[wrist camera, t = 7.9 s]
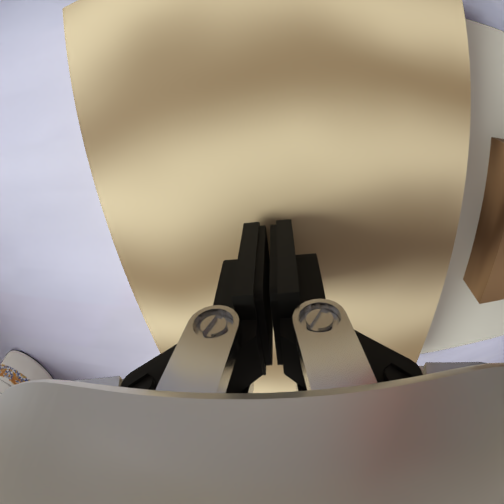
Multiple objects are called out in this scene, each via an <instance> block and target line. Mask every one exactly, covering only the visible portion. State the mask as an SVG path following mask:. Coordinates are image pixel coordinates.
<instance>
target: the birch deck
mask: <svg viewBox="0 0 504 504" xmlns="http://www.w3.org/2000/svg"><path fill="white" fill-rule="evenodd" d="M63 21H64V32H65V41H66V50H67V57H68V64H69V71H70V77H71V83H72V89H73V95H74V100H75V105H76V110H77V115H78V120H79V124H80V129H81V133H82V137H83V142H84V146H85V150H86V154H87V158H88V161H89V165H90V169H91V172H92V176H93V180H94V183H95V186H96V190H97V193H98V196H99V200H100V203H101V206H102V209H103V212H104V215H105V218H106V221H107V224H108V227H109V230H110V233H111V236H112V239H113V242H114V245H115V247H116V250H117V253H118V255H119V258H120V261H121V263H122V266H123V269H124V271H125V274H126V276H127V279H128V281H129V284H130V286H131V289H132V291H133V293H134V296H135V298H136V301H137V303H138V305H139V308H140V310H141V312H142V314H143V317H144V319H145V321H146V323H147V326H148V328H149V330H150V332H151V334H152V336H153V338H154V341H155V343H156V345H157V347H158V349H159V351H160V353H163V352H165V351H166V350H168V349H169V348H171V347H172V346H174V345H176V344H177V343H178V341H179V339H180V337H181V335H182V333H183V331H184V329H185V327H186V325H187V323H188V321H189V319H190V318H191V317H192V315H193V314H195V313H196V312H197V311H199V310H201V309H203V308H205V307H208V306H212V305H213V303H214V299H215V294H216V290H217V286H218V281H219V277H220V273H221V268H222V264H223V261H224V260H233V259H238V253H239V248H240V242H241V236H242V230H243V224H244V223H251V222H259V223H260V226H263V225H266V232H267V240H268V249H269V257H270V225H275V224H276V220H286V219H291V221H292V230H293V238H294V246H295V255H299V254H312V253H316V254H317V258H318V263H319V268H320V272H321V277H322V282H323V287H324V292H325V297H326V299H328V300H331V301H334V302H336V303H338V304H339V305H341V306H342V307H343V309H344V310H345V311H346V313H347V316H348V318H349V320H350V322H351V324H352V326H353V328H354V330H356V331H358V332H360V333H362V334H363V335H365V336H367V337H369V338H371V339H373V340H375V341H377V342H378V343H380V344H382V345H384V346H386V347H388V348H390V349H392V350H394V351H396V352H397V353H399V354H401V355H403V356H405V357H407V358H409V359H411V360H412V361H413V362H415V363H416V362H417V360H418V357H419V355H420V352H421V350H422V347H423V345H424V342H425V339H426V337H427V334H428V331H429V328H430V326H431V323H432V320H433V317H434V314H435V311H436V308H437V305H438V302H439V299H440V295H441V292H442V289H443V285H444V282H445V278H446V275H447V271H448V267H449V263H450V259H451V255H452V251H453V247H454V242H455V238H456V233H457V228H458V223H459V218H460V212H461V207H462V200H463V194H464V187H465V180H466V171H467V162H468V151H469V138H470V116H471V82H470V60H469V48H468V38H467V29H466V21H465V15H464V8H463V3H462V0H78V1H76V2H74V3H72V4H70V5H68V6H66V7H64V8H63ZM253 383H254V390H253V393H275V392H294V391H296V382H294V381H293V380H291V379H290V378H289V377H287V376H286V375H285V374H284V371H283V365H277V356H276V348H275V339H274V330H273V364H272V365H270V366H266V375H262V376H261V377H260V378H258V379H257V380H256V381H254V382H253Z"/></svg>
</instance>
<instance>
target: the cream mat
mask: <svg viewBox="0 0 504 504" xmlns="http://www.w3.org/2000/svg"><path fill="white" fill-rule="evenodd" d="M465 21H466V29H467V38H468V48H469V60H470V82H471V116H470V138H469V151H468V162H467V171H466V180H465V187H464V194H463V200H462V207H461V212H460V218H459V223H458V228H457V233H456V238H455V242H454V247H453V251H452V255H451V259H450V263H449V267H448V271H447V275H446V278H445V282H444V285H443V289H442V292H441V295H440V299H439V302H438V305H437V308H436V311H435V314H434V317H433V320H432V323H431V326H430V328H429V331H428V334H427V337H426V339H425V342H424V345H423V347H422V350H421V352H420V354H423V353H428V352H434V351H439V350H444V349H448V348H453V347H458V346H462V345H467V344H471V343H475V342H479V341H483V340H487V339H491V338H495V337H498V336H502V335H504V299H503V300H498V301H493V302H488V303H482V304H479V303H478V301H477V300H476V298H475V297H474V295H473V294H472V292H471V291H470V289H469V288H468V286H467V285H466V283H465V282H464V280H463V278H464V274H465V271H466V268H467V264H468V261H469V257H470V254H471V250H472V246H473V243H474V239H475V235H476V230H477V226H478V222H479V217H480V212H481V207H482V202H483V197H484V191H485V185H486V178H487V172H488V164H489V155H490V146H491V137H495V138H501V139H504V32H503V31H501V30H498V29H495V28H493V27H490V26H487V25H484V24H481V23H478V22H475V21H472V20H468V19H465Z"/></svg>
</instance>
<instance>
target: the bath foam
mask: <svg viewBox="0 0 504 504" xmlns="http://www.w3.org/2000/svg"><path fill="white" fill-rule="evenodd" d="M42 379H52V377H51V376H50V374H49V373H48V372H47V371H46V370H45V369H44V368H43V367H42V366H41V365H40V364H39V363H38V362H36V361H35V360H34V359H32V358H31V357H29V356H28V355H26V354H24V353H22V352H19V351H15V350H13V351H10V352H8V354H7V355H6V357H5V358H4V360H3V361H2V363H1V365H0V395H1V394H2V393H3V392H4V391H5V390H6V389H8V388H9V387H11V386H13V385H16V384H19V383H21V382H26V381H31V380H42Z"/></svg>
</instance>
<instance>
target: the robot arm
mask: <svg viewBox="0 0 504 504" xmlns="http://www.w3.org/2000/svg"><path fill="white" fill-rule="evenodd" d="M273 330H274V339H275V348H276V356H277V365H283V371H284V374H285V375H286V376H287V377H289V378H290V379H291V380H293V381H294V382H296V391H294V392H275V393H253V390H254V383H253V382H254V381H256V380H257V379H258V378H260V377H261V376H262V375H266V366H270V365H272V364H273ZM0 504H504V363H484V362H445V363H441V362H426V363H425V365H424V366H418V365H417V364H416V363H415V362H413V361H412V360H411V359H409V358H407V357H405V356H403V355H401V354H399V353H397V352H396V351H394V350H392V349H390V348H388V347H386V346H384V345H382V344H380V343H378V342H377V341H375V340H373V339H371V338H369V337H367V336H365V335H363V334H362V333H360V332H358V331H356V330H354V328H353V326H352V324H351V322H350V320H349V318H348V316H347V313H346V311H345V310H344V309H343V307H342V306H341V305H339V304H338V303H336V302H334V301H331V300H328V299H326V297H325V292H324V287H323V282H322V277H321V272H320V268H319V263H318V258H317V254H316V253H312V254H299V255H295V246H294V238H293V230H292V221H291V219H286V220H276V224H275V225H270V257H269V249H268V240H267V232H266V225H263V226H260V223H259V222H251V223H244V224H243V230H242V236H241V242H240V248H239V253H238V259H233V260H224V261H223V264H222V268H221V273H220V277H219V281H218V286H217V290H216V294H215V299H214V303H213V305H212V306H208V307H205V308H203V309H201V310H199V311H197V312H196V313H195V314H193V315H192V317H191V318H190V319H189V321H188V323H187V325H186V327H185V329H184V331H183V333H182V335H181V337H180V339H179V341H178V343H177V344H176V345H174V346H172V347H171V348H169V349H168V350H166V351H165V352H163V353H161V354H160V355H158V356H157V357H155V358H153V359H152V360H150V361H149V362H147V363H145V364H144V365H142V366H140V367H139V368H137V369H136V370H134V371H132V372H131V373H130V374H129V375H127V376H126V377H125V379H121V377H120V376H115V377H105V378H95V379H83V380H71V381H69V380H56V379H42V380H31V381H26V382H21V383H19V384H16V385H13V386H11V387H9V388H8V389H6V390H5V391H4V392H3V393H2V394H1V395H0Z"/></svg>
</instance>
